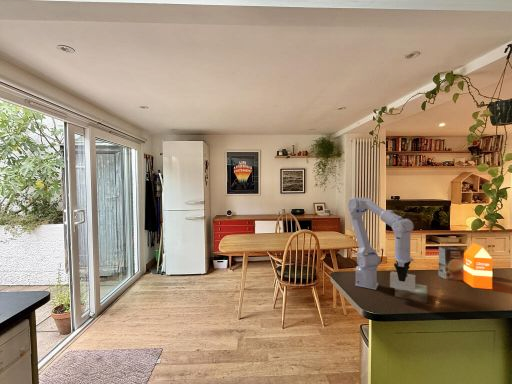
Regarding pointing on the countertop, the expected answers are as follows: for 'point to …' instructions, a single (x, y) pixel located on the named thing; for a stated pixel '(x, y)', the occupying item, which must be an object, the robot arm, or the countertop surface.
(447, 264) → the coffee box
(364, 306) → the countertop surface
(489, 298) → the countertop surface
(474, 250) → the orange juice
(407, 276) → the housing
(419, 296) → the stand
